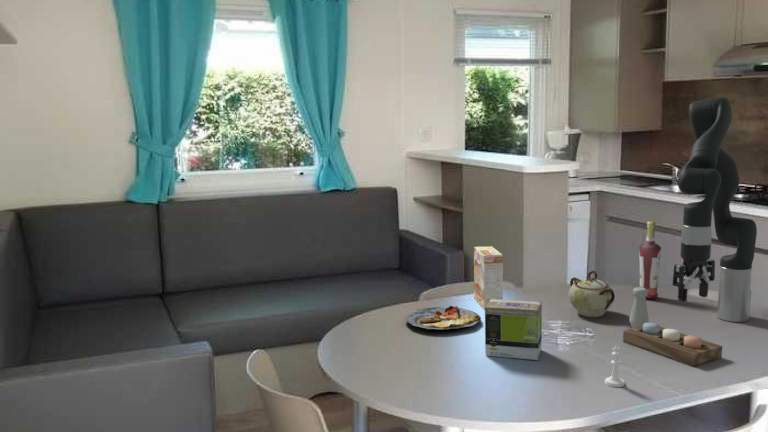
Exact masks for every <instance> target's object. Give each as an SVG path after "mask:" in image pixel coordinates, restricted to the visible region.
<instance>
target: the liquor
mask: <svg viewBox="0 0 768 432" xmlns="http://www.w3.org/2000/svg"><path fill="white" fill-rule="evenodd" d="M646 228H647V229H646V230H647V231H646V233H647V234H646V237H645V238H646V239H645V242H644V243H642V244H640V245H639V247H638V250H639V252H638V253H639V257H638V258H639V260H638V262H639V287H642V288H645V289H646V290H647V292H648V293H647V296H645V298H646V300H654V299H656V298H657V297H658V296H659V293H658V285H659V273H660V272H659V271H660V263H661V252H662V247H661V246H660V245H659V244H657V243H656V242H655V240H656V238H655V228H656V221H653V220H648V221H647V222H646Z"/></svg>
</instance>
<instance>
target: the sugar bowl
mask: <svg viewBox="0 0 768 432" xmlns="http://www.w3.org/2000/svg"><path fill="white" fill-rule="evenodd" d="M592 274H594V277H591V275H592ZM569 285H570V288H569V291H568V294H567V295H568V299H569V302H570V304H571V305H572V306H573V308H574V309H575V311H576V312H577V314H578V315H580V316H583V317H586V318H587V317H588V318H598V317H603V316H604V315H605V313H606V312H607V311H608V310H609V309H610V308H611V307H612V305H613V304H614V301H615V297H616V294H615V292H614V289H613V288H612V287H611V286H610V285H609V284H608V283H607V282H604V281H602V280H600V279H598V274H597V271H596V270H592V271H589V272H588V274H587V278H586V279H585V278H584V279H580V278H577V277H572V278H571V279H570V282H569Z"/></svg>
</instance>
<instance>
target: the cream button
mask: <svg viewBox="0 0 768 432" xmlns="http://www.w3.org/2000/svg"><path fill="white" fill-rule="evenodd" d="M680 333H681V331H680V330H678V329H674V328H667V329H664V330H663V338H662V339H664V340H667V341H670V342H677V341H680Z"/></svg>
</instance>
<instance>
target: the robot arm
mask: <svg viewBox="0 0 768 432" xmlns="http://www.w3.org/2000/svg"><path fill="white" fill-rule="evenodd" d="M688 107H689V108H688V116H689V117H688V118H689V121H690V124H691V128H692V132H693V134H694V138H695V140H696V141H695V142H694V144H693V145H692V149H691V151H690V155H689V156H690V157H689V160H688V161H687V162H686V164H685V165H684V167H683V168H682V169H681V170H680V172H679V175H678V178H677V186H678V189H679V191H681V193H684V194H686V195H687V194H688V195H704V199H703V200H700V201H695V202H689V203H686V204H685V205H684V207H683V216H682V217H683V219H682V221H683V222H682V228H681V233H680V234H681V239H680V254H679V255H680V258H681V259H683V261H682V264H678V263H675V264H674V266H673V276H672V286H674V287H677V288H678V289H677V291H678V292H677V293H678V294H677V298H678V299H677V300H678V301H679V302H682V303H683V302H684V303H685V302H687V301H688V287H689V285H690V283H693V281H694V279H695V280H696V279H697V278H698V280H699V284H698V285H699V287H698V295H699V296H700V297H701V298H707V297H708V293H709V285H710V283H711V282H714V281H715V277H716V276H715V275H716V273H715V272H716V261H715V260H714V259H711V255H712V254H711V253H712V216H713V222H714V231H715V235H716V238H717V240H718V241H719V243H720V244H723V245H726V246H733V247H736V251H735V253H732V254H726V255H723V256H721V258H720V260H719V277H718V280H719V281H718V293H717V307H716V308H717V309H716V311H717V312H716V313H717V314H716V317H717V318H718V319H720V320H723V321H726V322H733V323H735V322H736V323H737V322H739V323H743V322H748V321H749V319H750V318H751V317H750V315H751V303H752V300H751V299H752V288H751V286H752V285H751V284H752V269H753V262H754V259H755V258H754V257H755V252H756V251H755V250H756V249H755V248H756V242H757V236H758V235H757V234H758V229H757V224H756V222H755V220H753V219H751V218H744V217H738V216H737V217H736V216H733V215H732V213H731V208H730V204H731V201H732V199H733V198H734V196H735V194H736V192H737V191H738V189H739V186H740V175H739V172H738V167H737V164H736V161H735V160H734V159H733V157H731V156H730V155H729V153H728V152H726V151H725V150H724V149H723V148H722V147H721V146H722V143H723V141H724V139H725V138H726V135H727V132H728V131H729V128H730V125H731V123H732V118H733V117H732V116H733V112H732V107H731V103H730V101H729V99H728V98H727V97H724V96H722V97H720V96H719V97H712V98H707V99H701V100H696V101H693V102H691V103H690V104H689V106H688ZM709 273H710V275H709Z"/></svg>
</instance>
